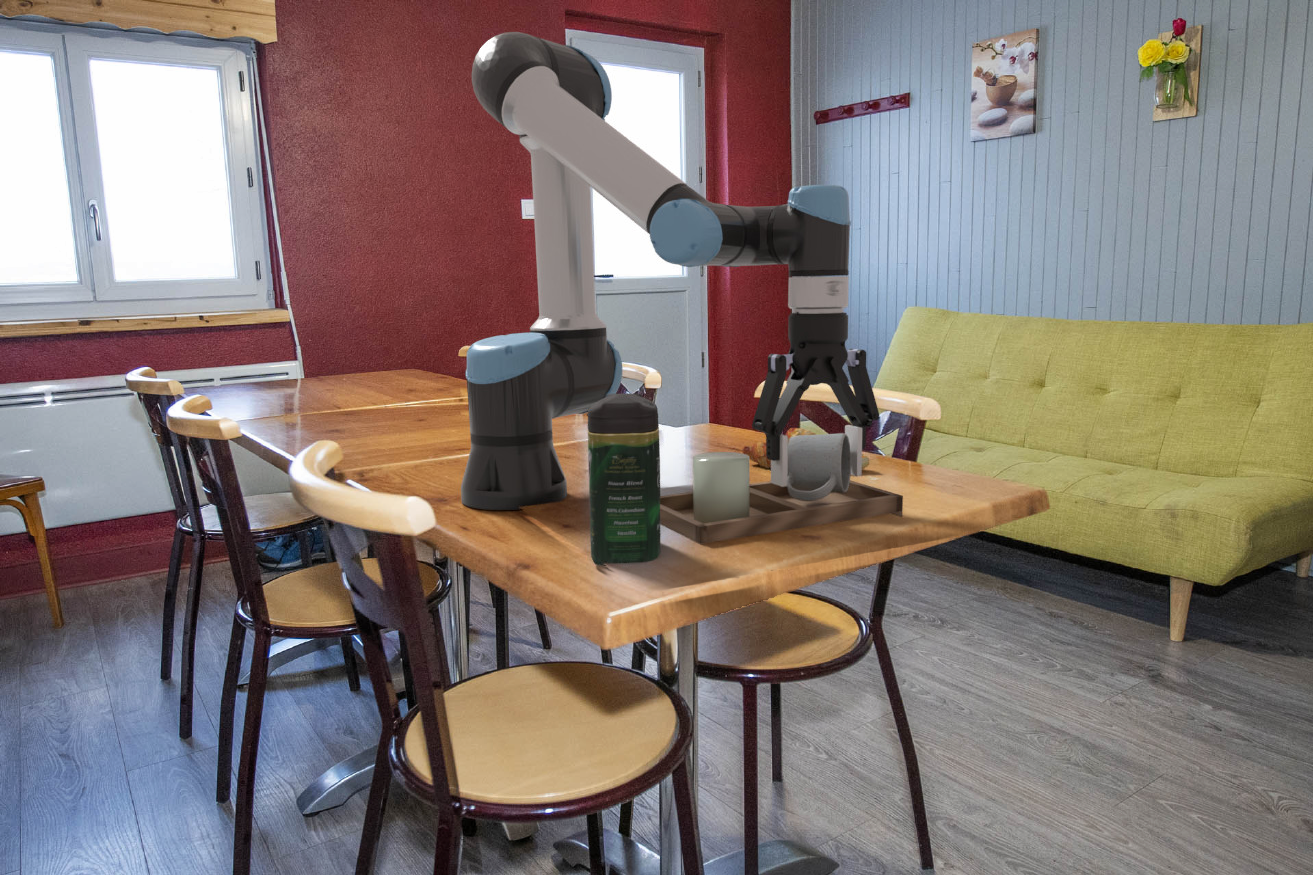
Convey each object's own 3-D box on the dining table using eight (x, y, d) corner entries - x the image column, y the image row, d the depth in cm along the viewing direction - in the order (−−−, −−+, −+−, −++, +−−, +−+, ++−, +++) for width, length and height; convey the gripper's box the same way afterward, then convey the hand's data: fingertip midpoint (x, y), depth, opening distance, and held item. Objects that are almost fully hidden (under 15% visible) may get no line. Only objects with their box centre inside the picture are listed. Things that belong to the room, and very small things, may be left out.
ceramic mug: (791, 482, 128) (791, 427, 127) (851, 485, 125) (852, 429, 124) (773, 501, 118) (773, 441, 117) (838, 505, 116) (839, 444, 114)
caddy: (699, 552, 107) (699, 526, 106) (640, 521, 121) (639, 498, 120) (902, 518, 119) (902, 495, 119) (827, 494, 134) (827, 473, 133)
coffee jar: (662, 571, 100) (658, 399, 97) (588, 572, 100) (582, 401, 97) (661, 545, 110) (658, 388, 107) (594, 547, 110) (589, 390, 107)
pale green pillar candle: (710, 529, 112) (710, 464, 111) (683, 517, 118) (682, 455, 117) (760, 522, 115) (760, 458, 114) (731, 510, 121) (731, 449, 120)
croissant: (871, 489, 151) (877, 443, 153) (862, 472, 142) (868, 422, 144) (746, 478, 159) (753, 434, 161) (730, 461, 150) (738, 414, 153)
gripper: (755, 315, 110) (755, 495, 114) (910, 308, 120) (906, 474, 124) (723, 313, 117) (724, 484, 121) (872, 307, 127) (869, 465, 131)
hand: (816, 479), depth 122 cm, fingers closed on ceramic mug, 11 cm apart
